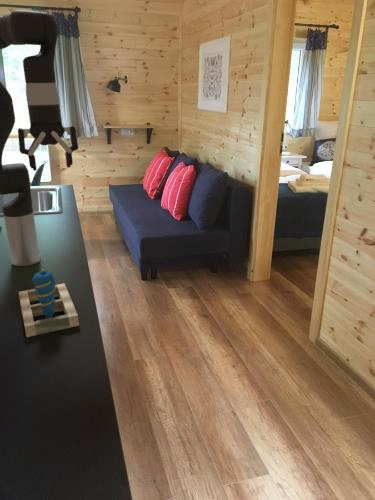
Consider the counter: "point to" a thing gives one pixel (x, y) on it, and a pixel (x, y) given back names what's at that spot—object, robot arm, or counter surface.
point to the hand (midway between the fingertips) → (51, 168)
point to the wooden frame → (35, 310)
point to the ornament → (45, 291)
